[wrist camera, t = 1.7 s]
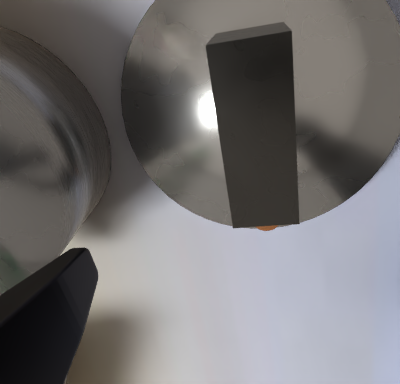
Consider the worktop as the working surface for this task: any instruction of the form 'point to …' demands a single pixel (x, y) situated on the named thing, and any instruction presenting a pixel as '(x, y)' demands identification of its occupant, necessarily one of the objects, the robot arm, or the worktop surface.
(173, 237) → the worktop surface
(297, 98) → the lid
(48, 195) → the pot
